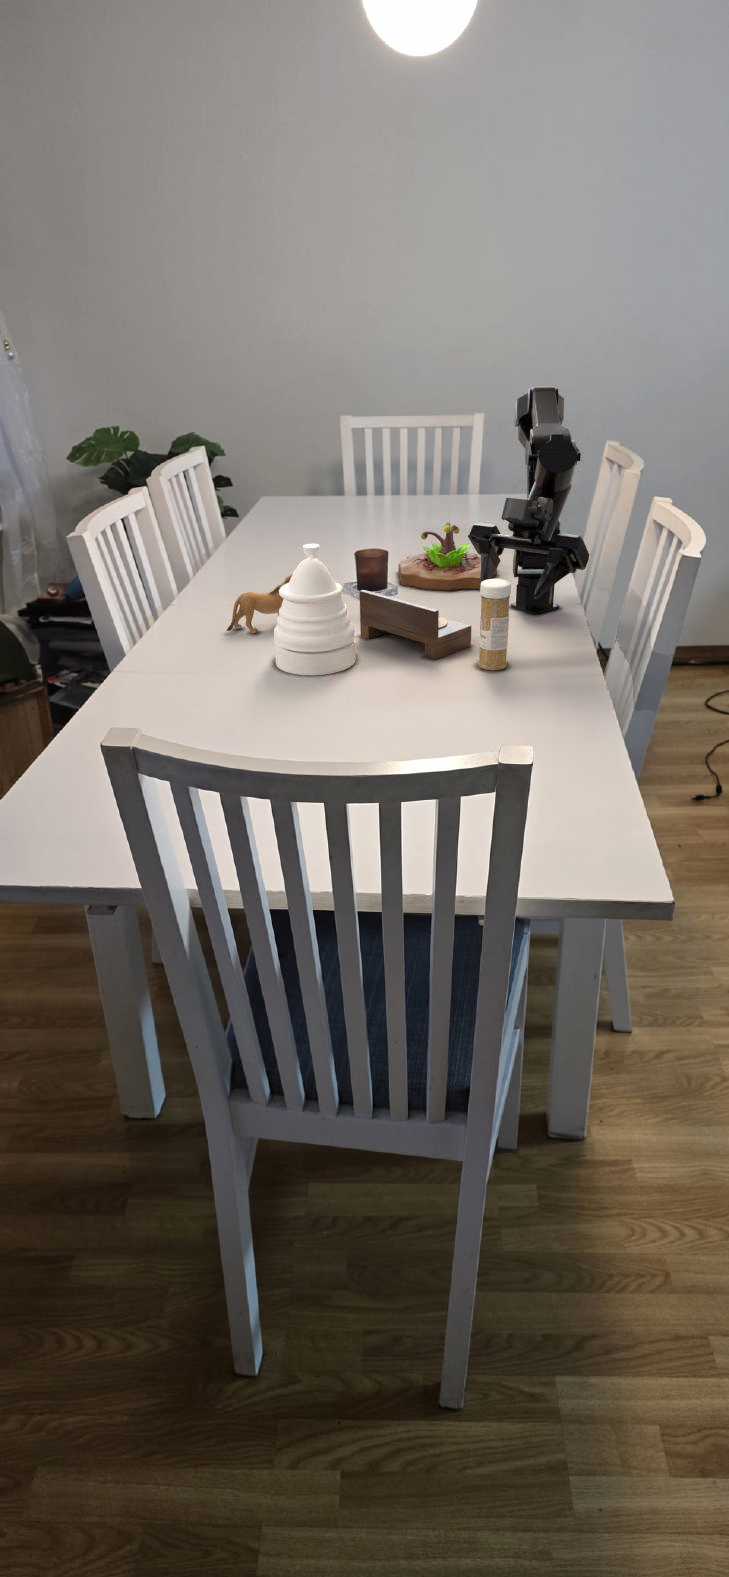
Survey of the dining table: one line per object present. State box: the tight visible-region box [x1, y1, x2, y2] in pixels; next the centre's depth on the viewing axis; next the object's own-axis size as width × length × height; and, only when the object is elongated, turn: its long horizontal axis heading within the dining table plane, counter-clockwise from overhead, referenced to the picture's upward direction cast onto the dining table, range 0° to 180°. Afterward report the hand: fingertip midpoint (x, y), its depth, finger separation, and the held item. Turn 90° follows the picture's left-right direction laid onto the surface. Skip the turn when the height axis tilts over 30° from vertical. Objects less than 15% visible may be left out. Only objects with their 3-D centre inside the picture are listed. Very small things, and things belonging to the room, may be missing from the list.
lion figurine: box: [226, 573, 293, 634], centre depth 172 cm, size 15×5×9 cm, turn 110°
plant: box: [398, 521, 498, 591], centre depth 197 cm, size 20×20×11 cm
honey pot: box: [273, 543, 357, 676], centre depth 155 cm, size 13×13×18 cm
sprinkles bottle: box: [477, 578, 512, 671], centre depth 152 cm, size 5×5×14 cm
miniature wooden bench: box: [358, 589, 472, 661], centre depth 164 cm, size 9×17×8 cm, turn 44°
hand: (508, 593), depth 153 cm, fingers open, 9 cm apart
